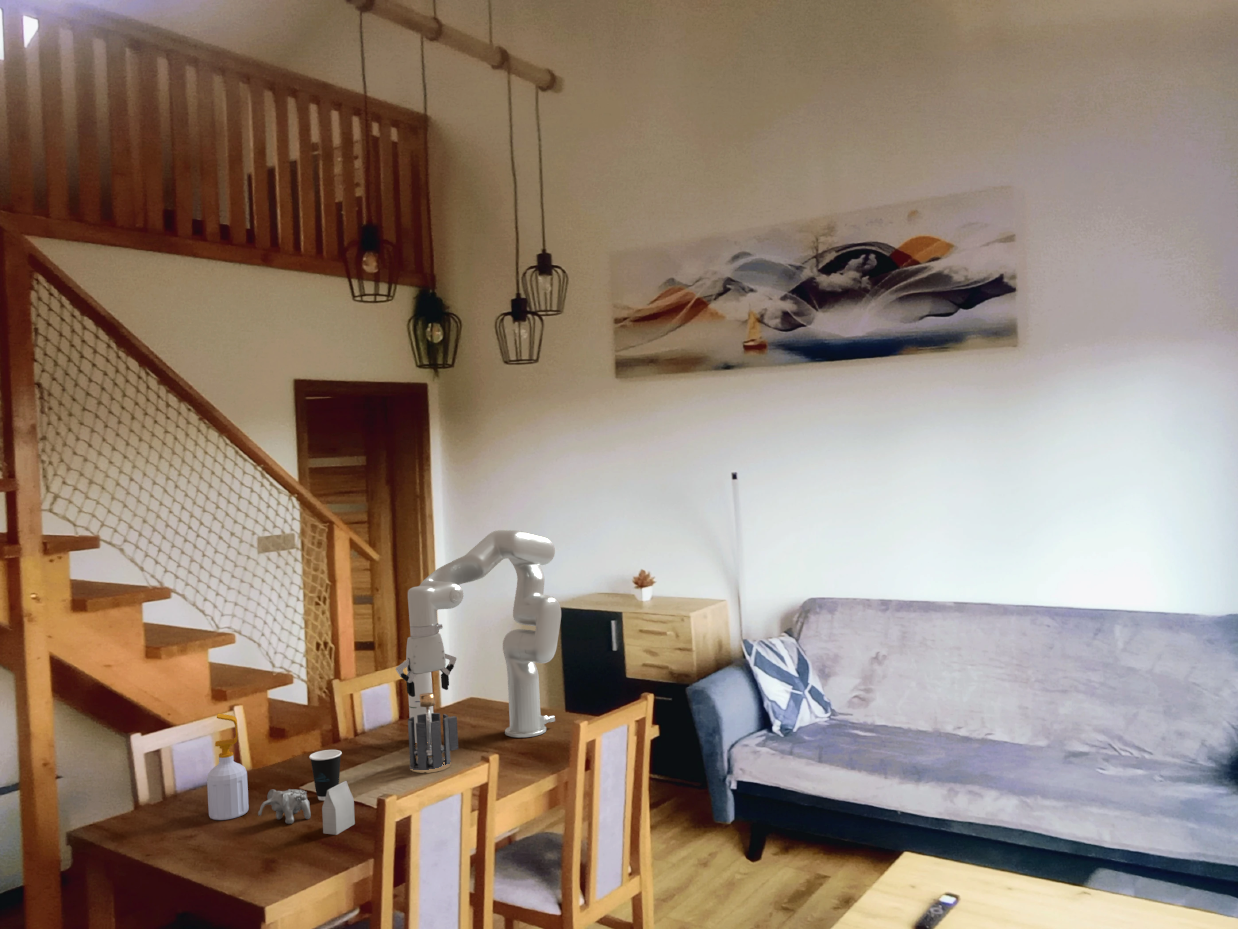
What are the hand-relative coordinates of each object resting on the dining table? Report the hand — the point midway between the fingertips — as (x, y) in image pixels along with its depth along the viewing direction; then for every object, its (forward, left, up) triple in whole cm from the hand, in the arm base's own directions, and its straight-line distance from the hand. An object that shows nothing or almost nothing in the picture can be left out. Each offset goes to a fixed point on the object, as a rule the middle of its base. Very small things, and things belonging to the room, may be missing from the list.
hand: (428, 692), depth 268 cm
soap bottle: (+54, +2, -21) cm, 57 cm away
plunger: (+1, 0, -16) cm, 16 cm away
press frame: (-1, 0, -21) cm, 21 cm away
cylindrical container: (-7, -27, -21) cm, 35 cm away
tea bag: (+35, +30, -21) cm, 50 cm away
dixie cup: (+31, +6, -21) cm, 37 cm away
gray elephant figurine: (+44, +17, -21) cm, 51 cm away
